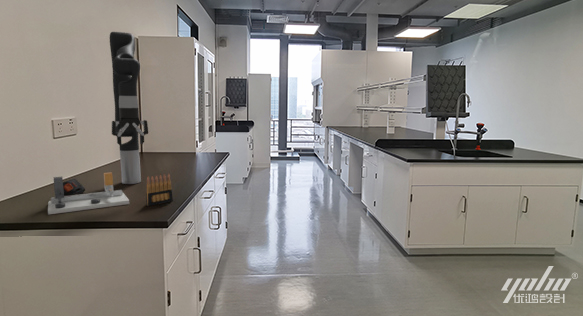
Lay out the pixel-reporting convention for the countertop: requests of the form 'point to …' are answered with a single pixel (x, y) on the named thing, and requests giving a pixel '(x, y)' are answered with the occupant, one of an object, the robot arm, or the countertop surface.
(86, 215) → the countertop surface
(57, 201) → the rail and fixed leg
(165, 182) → the ammunition clip
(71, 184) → the battery
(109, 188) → the block
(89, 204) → the hole plate
